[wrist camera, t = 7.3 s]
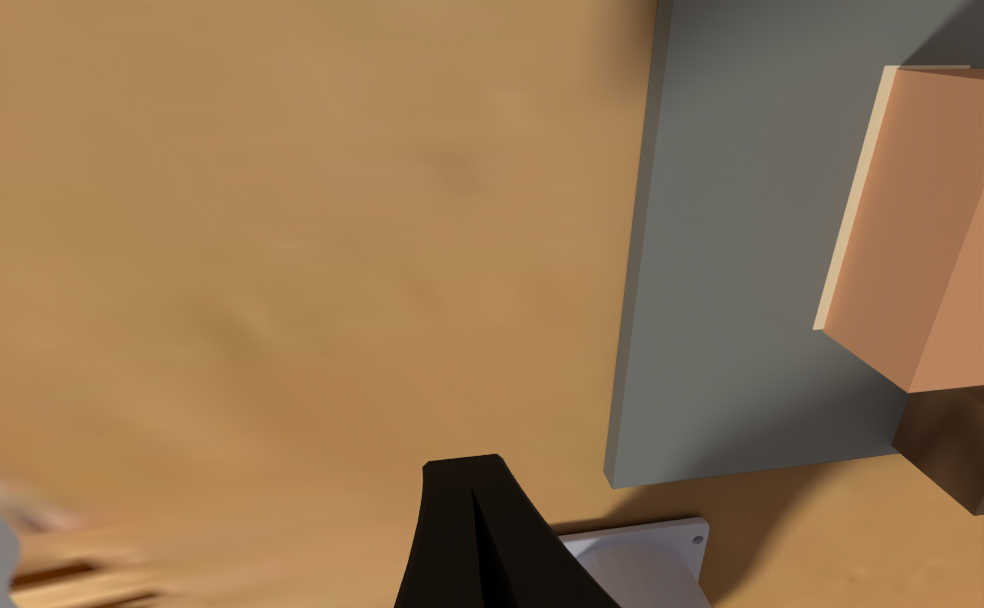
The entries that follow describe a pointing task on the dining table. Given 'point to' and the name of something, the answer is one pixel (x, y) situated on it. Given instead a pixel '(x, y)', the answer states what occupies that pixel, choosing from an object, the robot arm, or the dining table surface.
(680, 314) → the board
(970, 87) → the t block
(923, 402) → the walnut cube
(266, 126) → the dining table surface
